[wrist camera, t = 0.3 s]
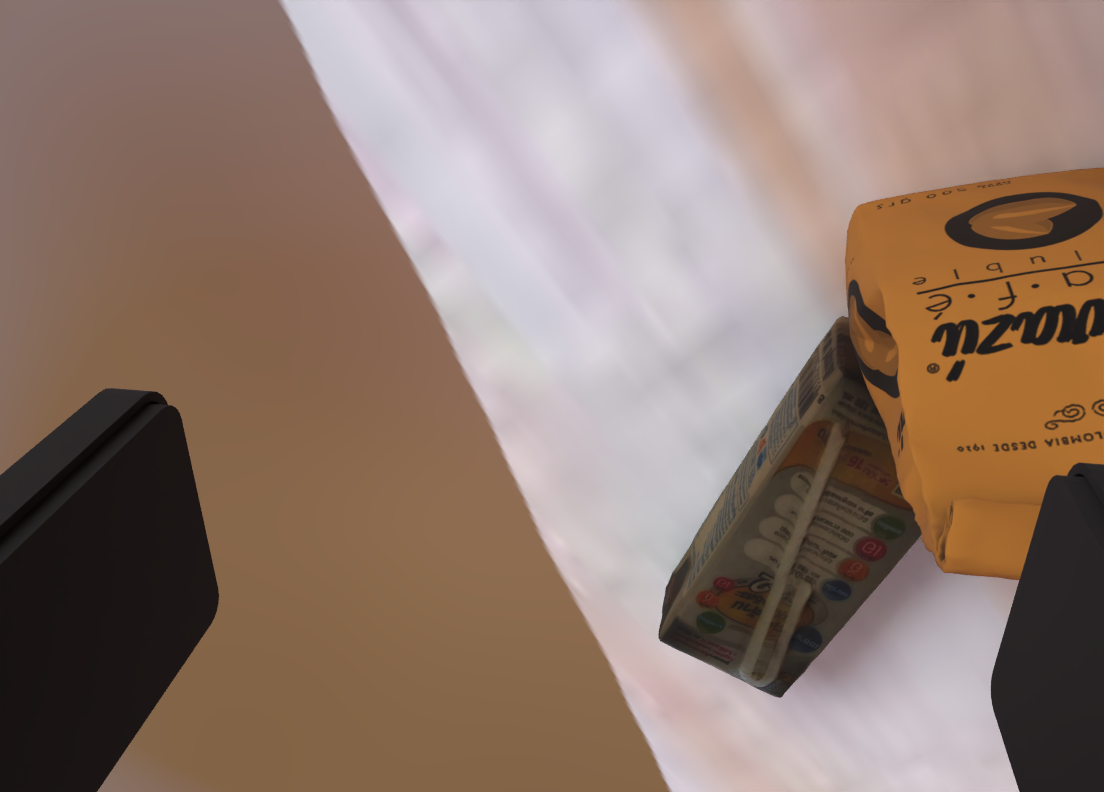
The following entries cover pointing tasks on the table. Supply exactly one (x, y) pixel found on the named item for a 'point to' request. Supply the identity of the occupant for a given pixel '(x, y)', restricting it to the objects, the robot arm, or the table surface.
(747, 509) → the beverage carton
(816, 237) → the table surface
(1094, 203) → the coffee package
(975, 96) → the table surface
